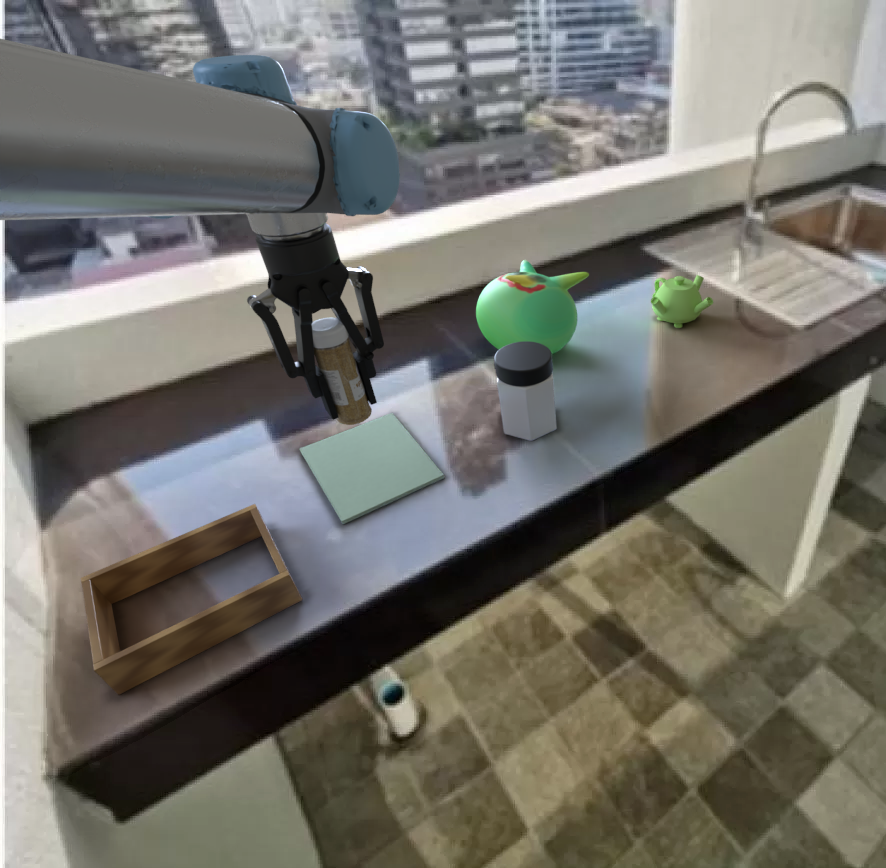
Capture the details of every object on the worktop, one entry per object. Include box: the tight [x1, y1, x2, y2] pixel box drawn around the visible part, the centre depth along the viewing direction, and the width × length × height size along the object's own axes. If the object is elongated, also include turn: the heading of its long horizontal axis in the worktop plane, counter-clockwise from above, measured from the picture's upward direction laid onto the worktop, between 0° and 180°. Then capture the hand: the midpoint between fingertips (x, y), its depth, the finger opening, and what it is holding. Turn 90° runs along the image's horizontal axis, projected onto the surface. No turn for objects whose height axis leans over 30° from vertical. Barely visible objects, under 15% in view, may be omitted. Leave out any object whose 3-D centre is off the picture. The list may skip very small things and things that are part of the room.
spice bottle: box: [312, 316, 373, 426], centre depth 75 cm, size 5×5×14 cm
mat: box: [299, 412, 445, 525], centre depth 85 cm, size 18×14×1 cm
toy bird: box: [475, 259, 590, 355], centre depth 104 cm, size 18×17×15 cm
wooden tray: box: [80, 503, 303, 696], centre depth 66 cm, size 18×14×4 cm
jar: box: [493, 341, 558, 442], centre depth 88 cm, size 9×8×12 cm
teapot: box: [650, 274, 714, 329], centre depth 115 cm, size 11×12×8 cm
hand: (351, 405), depth 78 cm, fingers closed on spice bottle, 4 cm apart
